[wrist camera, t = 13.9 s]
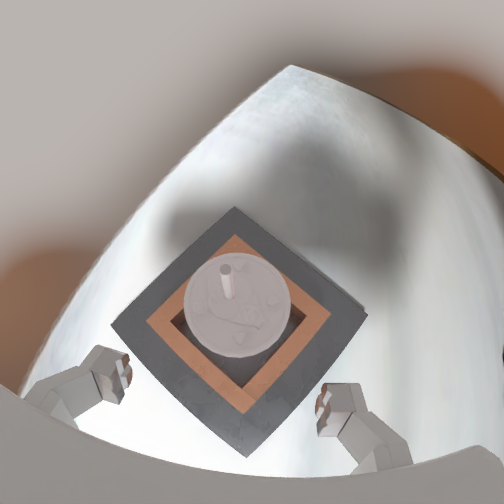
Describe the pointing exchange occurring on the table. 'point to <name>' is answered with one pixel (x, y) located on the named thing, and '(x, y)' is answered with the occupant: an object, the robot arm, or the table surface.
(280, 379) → the mount
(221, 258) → the smoothie
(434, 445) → the table surface
